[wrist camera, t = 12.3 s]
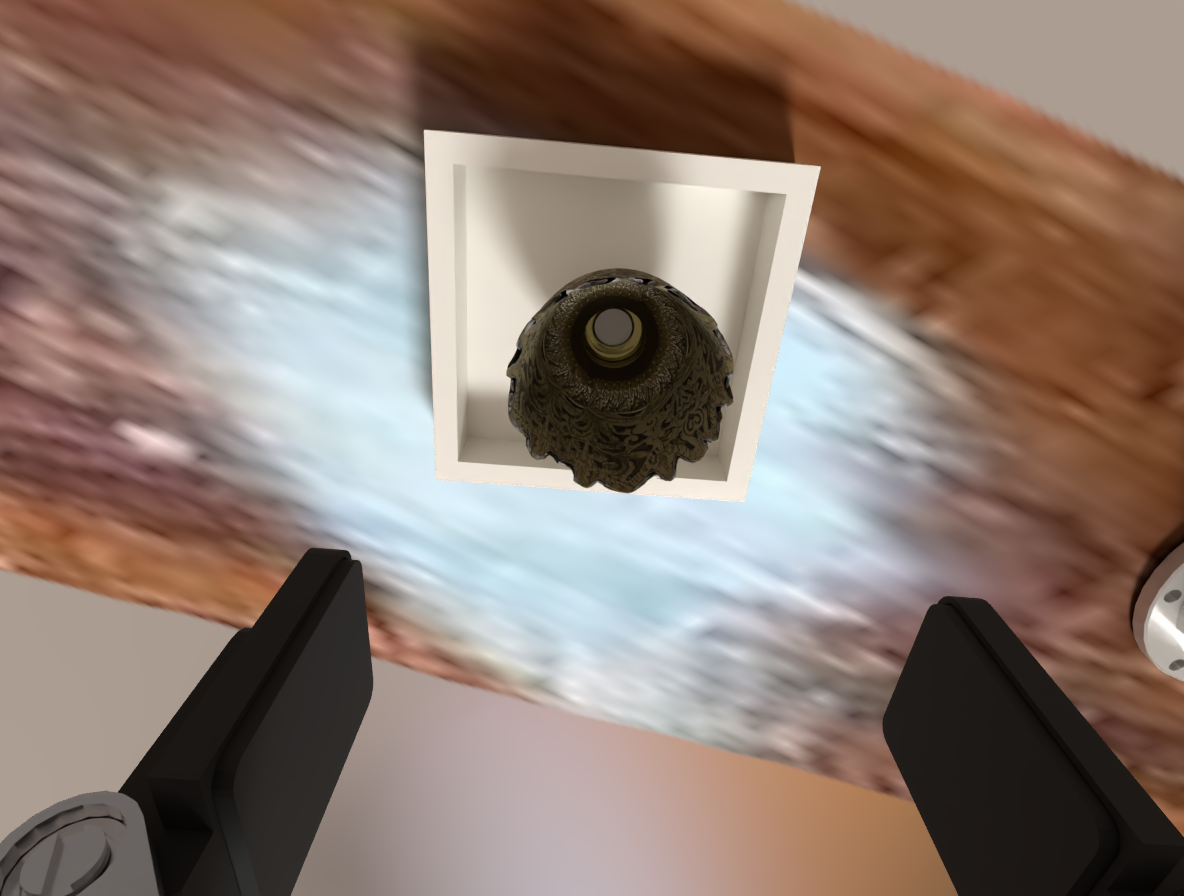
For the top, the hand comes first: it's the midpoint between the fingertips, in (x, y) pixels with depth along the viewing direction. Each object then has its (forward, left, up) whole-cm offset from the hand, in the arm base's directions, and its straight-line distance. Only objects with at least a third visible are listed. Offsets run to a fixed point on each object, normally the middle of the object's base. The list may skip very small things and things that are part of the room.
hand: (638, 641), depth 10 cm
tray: (0, 0, -20) cm, 20 cm away
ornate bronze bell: (0, 0, -19) cm, 19 cm away
